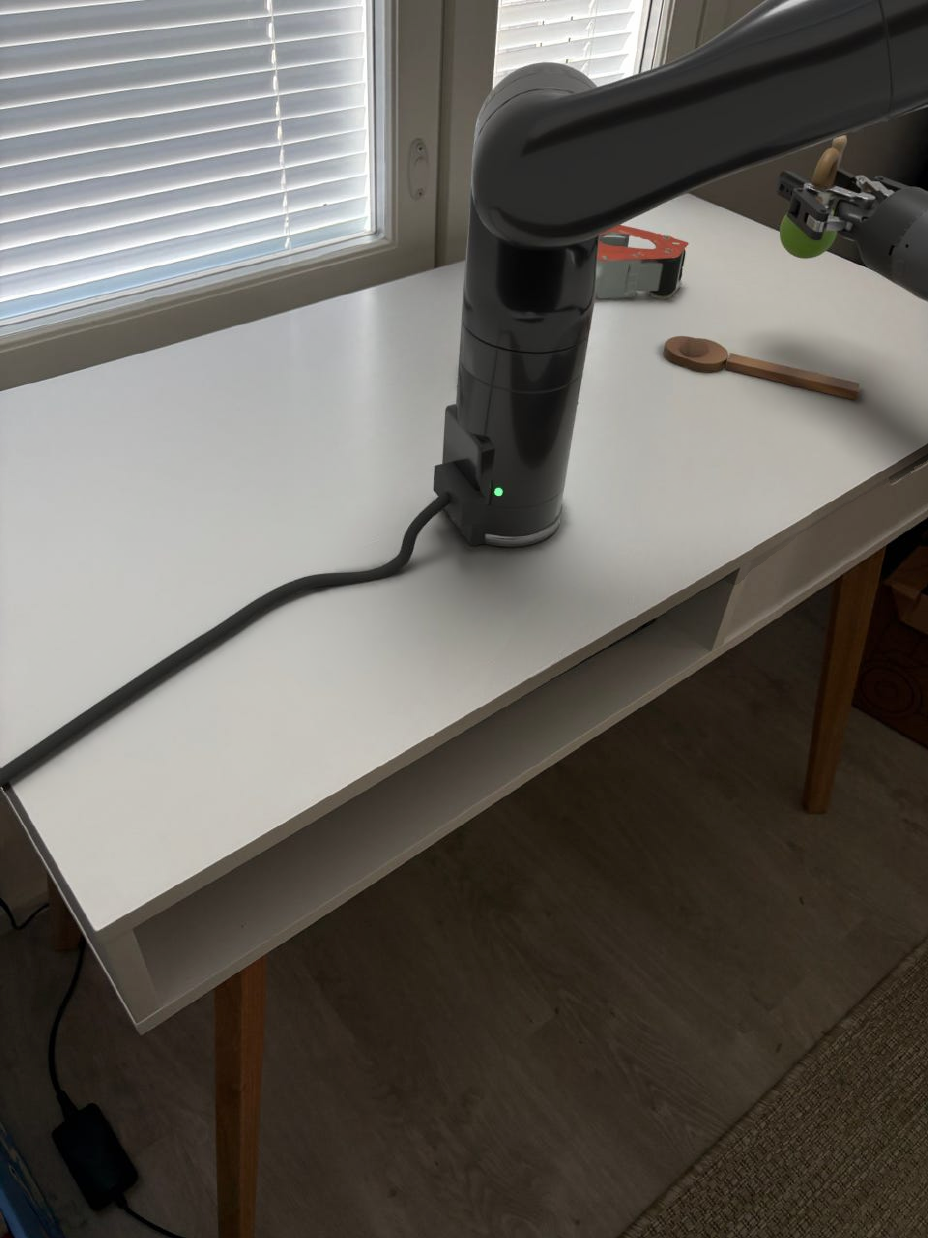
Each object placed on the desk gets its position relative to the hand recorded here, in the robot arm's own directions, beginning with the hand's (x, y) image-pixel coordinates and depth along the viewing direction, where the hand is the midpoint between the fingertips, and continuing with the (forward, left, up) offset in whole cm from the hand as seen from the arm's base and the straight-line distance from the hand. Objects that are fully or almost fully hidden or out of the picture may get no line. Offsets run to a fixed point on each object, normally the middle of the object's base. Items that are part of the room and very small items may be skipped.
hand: (803, 178), depth 99 cm
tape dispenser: (-12, +14, -16) cm, 25 cm away
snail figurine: (0, -3, -7) cm, 7 cm away
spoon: (-6, -8, -16) cm, 19 cm away
